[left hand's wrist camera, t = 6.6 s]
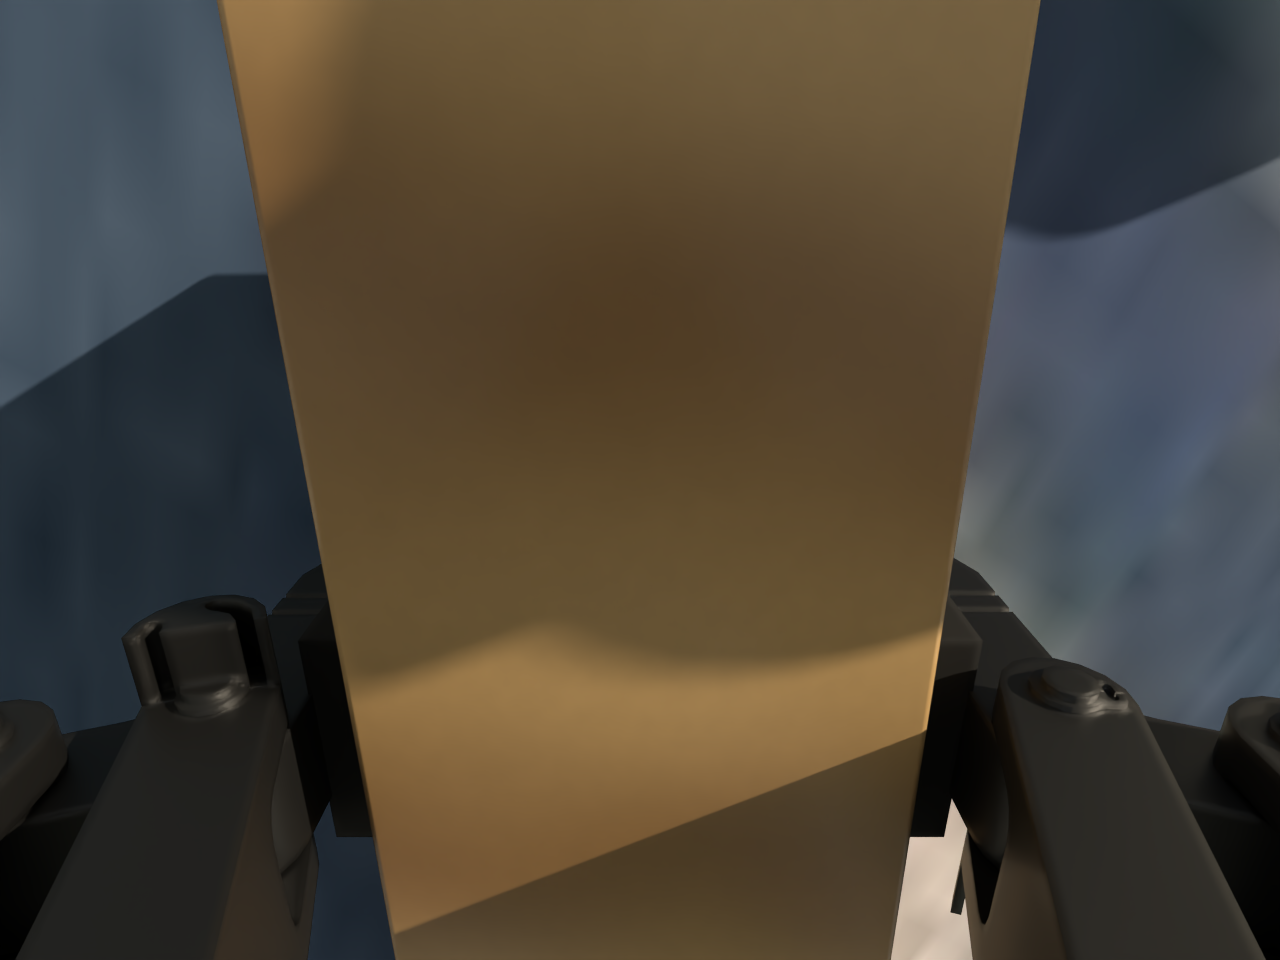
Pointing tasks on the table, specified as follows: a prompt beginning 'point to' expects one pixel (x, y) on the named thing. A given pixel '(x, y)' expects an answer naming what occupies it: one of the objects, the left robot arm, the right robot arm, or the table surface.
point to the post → (635, 440)
